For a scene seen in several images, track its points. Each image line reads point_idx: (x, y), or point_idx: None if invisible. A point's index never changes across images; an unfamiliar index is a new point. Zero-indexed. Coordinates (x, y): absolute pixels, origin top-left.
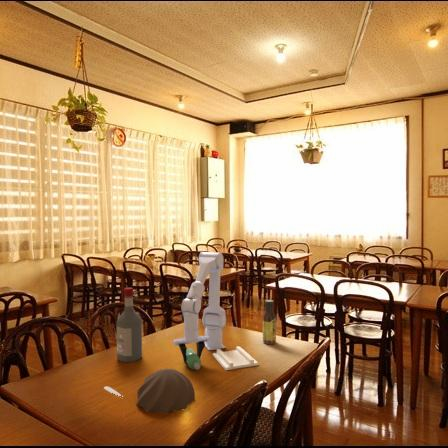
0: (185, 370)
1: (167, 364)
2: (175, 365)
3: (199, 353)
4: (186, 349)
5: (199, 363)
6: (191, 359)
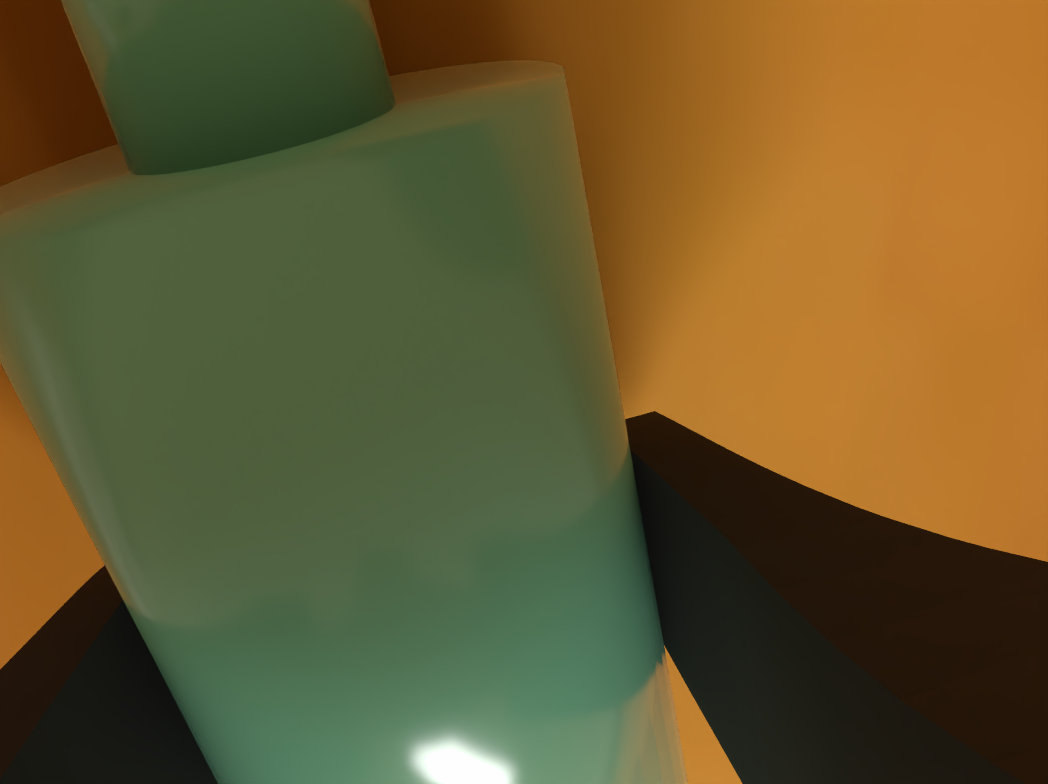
0: (624, 59)
1: (1032, 521)
2: (860, 455)
3: (10, 735)
4: (925, 707)
5: (53, 179)
6: (453, 121)
